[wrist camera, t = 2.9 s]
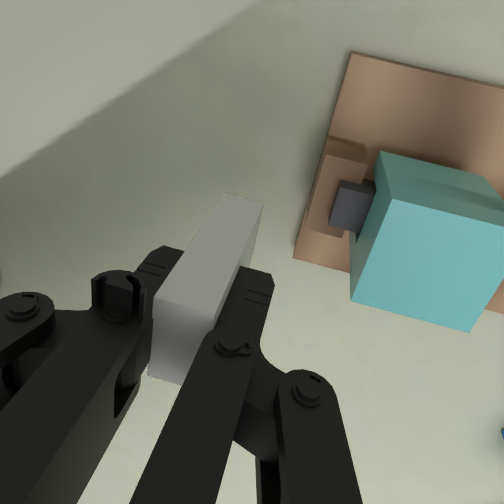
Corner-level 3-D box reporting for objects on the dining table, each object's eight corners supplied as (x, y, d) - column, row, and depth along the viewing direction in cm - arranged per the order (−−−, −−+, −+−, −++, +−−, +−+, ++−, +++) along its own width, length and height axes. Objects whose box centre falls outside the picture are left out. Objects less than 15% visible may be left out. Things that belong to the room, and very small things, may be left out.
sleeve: (348, 235, 23) (350, 300, 17) (379, 150, 20) (392, 198, 15) (440, 258, 22) (468, 332, 17) (483, 176, 20) (532, 233, 15)
